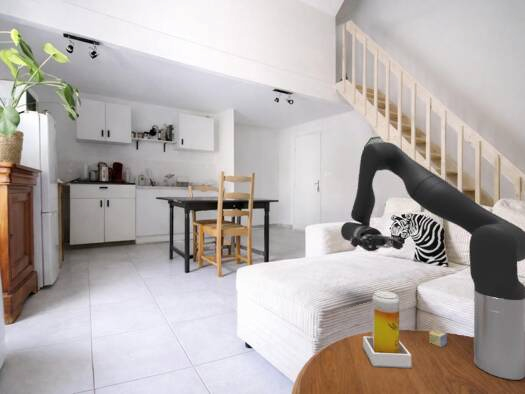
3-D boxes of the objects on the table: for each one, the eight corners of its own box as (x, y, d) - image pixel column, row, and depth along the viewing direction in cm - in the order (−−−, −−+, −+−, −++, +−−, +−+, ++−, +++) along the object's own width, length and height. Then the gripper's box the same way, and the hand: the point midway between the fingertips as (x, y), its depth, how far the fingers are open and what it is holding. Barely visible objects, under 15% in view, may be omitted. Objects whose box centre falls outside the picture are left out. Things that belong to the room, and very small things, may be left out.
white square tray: (397, 349, 77) (397, 337, 77) (411, 368, 68) (411, 355, 68) (363, 347, 77) (363, 336, 77) (372, 366, 69) (373, 353, 69)
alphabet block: (441, 347, 78) (441, 336, 78) (428, 343, 80) (428, 331, 80) (446, 344, 79) (446, 333, 79) (434, 340, 82) (434, 329, 82)
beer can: (401, 363, 69) (402, 299, 69) (374, 360, 70) (374, 297, 70) (395, 350, 75) (396, 291, 75) (370, 347, 76) (370, 289, 76)
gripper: (345, 226, 99) (357, 231, 83) (389, 226, 98) (410, 232, 82) (345, 248, 99) (357, 258, 83) (389, 249, 98) (410, 259, 82)
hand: (383, 245), depth 82 cm, fingers open, 8 cm apart
